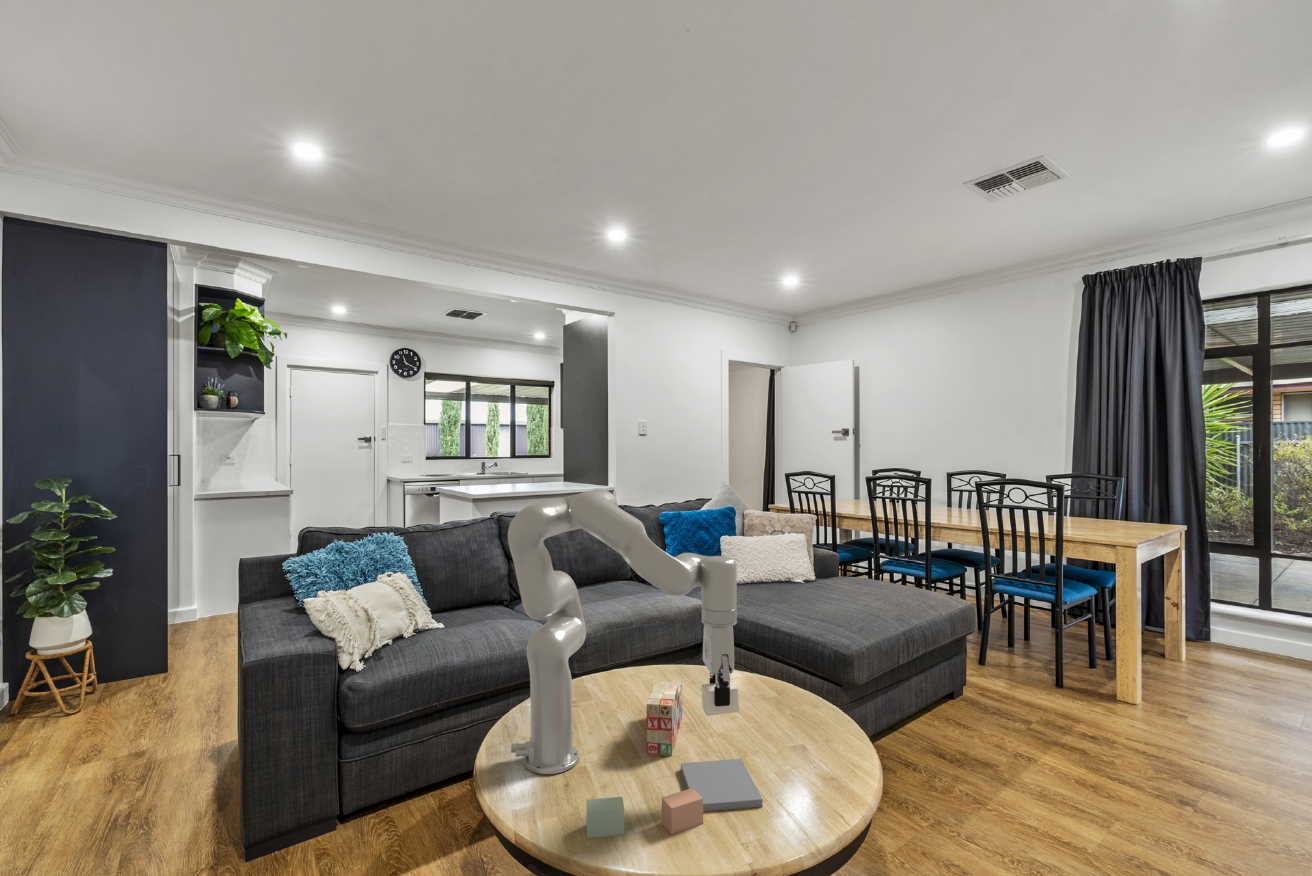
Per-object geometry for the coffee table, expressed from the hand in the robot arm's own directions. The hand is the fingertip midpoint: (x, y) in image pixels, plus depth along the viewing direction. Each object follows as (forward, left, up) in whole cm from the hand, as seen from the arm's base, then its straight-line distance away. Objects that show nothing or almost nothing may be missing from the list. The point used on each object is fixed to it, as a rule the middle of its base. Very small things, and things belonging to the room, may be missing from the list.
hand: (719, 699), depth 133 cm
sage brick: (-25, -11, -19) cm, 33 cm away
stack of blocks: (-8, +25, -19) cm, 33 cm away
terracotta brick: (-10, -11, -19) cm, 24 cm away
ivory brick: (0, 0, -2) cm, 2 cm away
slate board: (0, 0, -19) cm, 19 cm away
